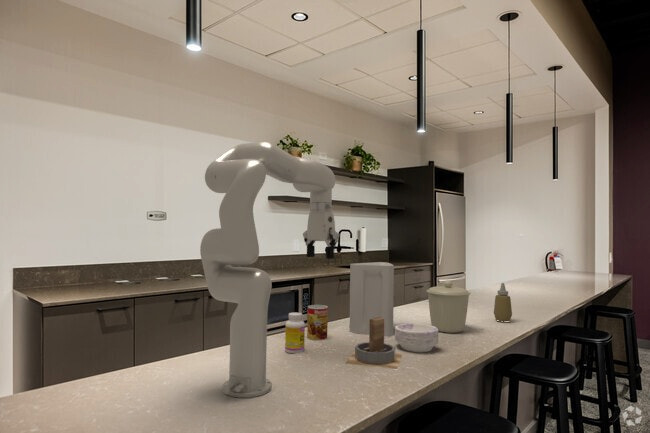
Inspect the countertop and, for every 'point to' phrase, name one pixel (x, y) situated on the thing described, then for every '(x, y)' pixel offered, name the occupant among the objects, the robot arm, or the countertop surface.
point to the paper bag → (371, 296)
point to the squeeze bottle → (502, 305)
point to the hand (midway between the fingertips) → (320, 257)
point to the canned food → (317, 322)
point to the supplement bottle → (294, 333)
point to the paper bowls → (416, 337)
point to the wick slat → (376, 334)
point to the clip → (375, 351)
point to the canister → (448, 307)
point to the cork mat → (391, 365)
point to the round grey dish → (374, 354)
